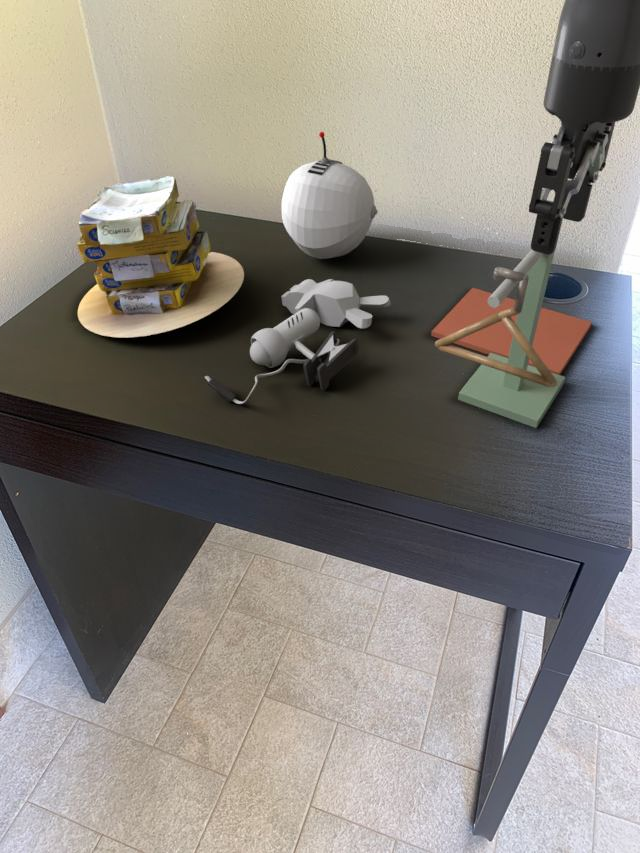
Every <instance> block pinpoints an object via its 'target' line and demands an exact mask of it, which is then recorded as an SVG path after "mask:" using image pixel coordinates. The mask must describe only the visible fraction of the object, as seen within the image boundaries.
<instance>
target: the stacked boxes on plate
mask: <svg viewBox="0 0 640 853" xmlns="http://www.w3.org/2000/svg"><path fill="white" fill-rule="evenodd" d="M178 188H179V187H178V185H177V178H175V176H171V175H170V176H169V175H167V176H165V177H161V178H153V177H150V178H149V179H142V180H141V179H140V180H134V181H127V179H126V178H125V179H124V182H122V183H121V181H119V182H118V183H116V184H113V185H107V186H103V188H102V190H100V191H99V193H98V194H97V195H96V198H95V199H93V201H92V202H91V203H90V205H89V206H88V208H85V209H84V210H82V211H81V212H80V213H81V214H80V215H79V222H78V227H79V230H80V236H79V238H78V241H77V243H76V247H77V249H78V252H79V254H80V257H81V259H82V261H83V263H95V264H96V265H97V270H96V271H95V272H94V273H93V277H94V279H95V282H96V284H95V285H94V286H93V287H92V288H90V289H89V290H88V291H87V293H86V294H85V295H84V296H83V297H82V299H81V301H80V302H79V305H78V309H77V318H78V321H79V323H80V324H81V325H82V326H83V327H84V328H85V329H87V331H89V332H92V333H94V334H97V335H100V336H104V337H111V338H121V339H122V338H127V339H128V338H139V337H147V336H151V335H158V334H161V333H167V332H170V331H173V330H176V329H179V328H183V327H185V326H187V325H190V324H192V323H195V322H197V321H199V320H201V319H204V318H205V317H207V316H210V315H211V314H212V313H214V312H216V311H218V310H219V309H220V308H221V307H223V306H224V305H225V304H227V303H228V302H230V300H232V298H233V297H234V296H235V295H236V294H237V293H238V292H239V290H240V288H241V287H242V284H243V282H244V279H245V272H244V267H243V266H242V265H241V263H240V262H239V261H237V259H235V258H233V257H231V256H230V255H227V254H223V253H220V252H215V251H212V250H211V243H210V239H209V234H208V228H205V229H204V230H203V231H202V230H201V231H198V230H199V228H200V225H199V221H198V217H197V212H196V207H197V203H195V202H194V201H193V200H192V199H190V200H188V199H186V200H182V201H178V198H179V197H180V194H179V189H178Z"/></svg>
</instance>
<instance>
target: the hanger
mask: <svg viewBox="0 0 640 853" xmlns="http://www.w3.org/2000/svg"><path fill="white" fill-rule="evenodd" d="M513 270H514V269H513ZM513 270H512V269H509V268H505V267H502V266H496V267H495V268H494V270H493V275H492V278H493V280H494V281H497V282H498V281H500V280H502V277H503V278H505V279H506V278H509V279H513V280H516V281H519V283H518V287H517V290H516V295H515V299H514V300H515V304H514V307H513V308H510V309H507V310H504V311H500V312H498V313H496V314H494V315H491V316H489V317H487V318H485V319H483V320H481V321H478V322H476V323H474V324H472V325H470V326H467V327H465V328H463V329H461V330H459V331H457V332H454V333H452V334H450V335H448V336H446V337H444V338H441V339H439V338H438V339H437V340H436V341H435V342H434V347H435V348H437V349H438V350H439V351H441V352H445V353H447V354H451V355H453V356H456V357H459V358H462V359H465V360H468V361H470V362H474V363H477V364H479V365H481V364H482V365H485V366H488V367H491V368H494V369H497V370H500V371H503V372H506V373H509V374H512V375H514V376H517V377H520V378H523V379H526V380H529V381H532V382H535V383H538V384H541V385H544V386H547V387H554V386H556V385H557V380H556V379H555V377H554V376H553V375H552V373H551V372H550V370H549V369H548V368H547V366H546V365H545V364H544V362H543V361H542V359H541V358H540V357H539V355H538V354H537V353H536V351H535V350H534V349H533V347H532V346H531V344H530V343H529V342H528V340H527V339H526V338H525V336H524V335H523V333H522V332H521V331H520V329H519V328H518V327H517V325H516V324H515V322H514V321H513V320H512V318H511V316H514V315H517V314H520V313H521V312H522V307H523V303H524V298H525V294H526V289H527V285H528V280H529V276H528V275H527V274H524V273H520V272H517V271H513ZM500 321H502V322H503V323H504V325H505V326H506V327H507V329H508V330H509V332H510V333H511V334H512V336H513V337H514V338H515V340H516V341H517V342H518V344H519V345H520V347H521V348H522V349H523V351H524V352H525V353H526V355H527V356H528V357H529V359H530V360H531V362H532V363H533V364H534V366H535V367H536V368H537V370H538V371H539V373H540V374H541V375H539V374H536V373H533V372H530V371H527V370H524V369H521V368H518V367H515V366H512V365H509V364H506V363H503V362H500V361H497V360H494V359H491V358H488V356H485V355H482V354H479V353H476V352H473V351H470V350H467V349H465V348H462V347H458V346H455V345H452V344H454V343H453V342H455V341H457V340H459V339H462V338H464V337H466V336H468V335H471V334H473V333H475V332H477V331H480V330H482V329H484V328H486V327H489V326H491V325H493V324H495V323H498V322H500Z"/></svg>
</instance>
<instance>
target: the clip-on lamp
mask: <svg viewBox="0 0 640 853" xmlns="http://www.w3.org/2000/svg"><path fill="white" fill-rule="evenodd" d="M320 327H321V322H320V318H319V316H318V314H317V313H316V312H315V311H314V310H312V309H309V308H304V309H301V310H300V311H298V312H297V313H295V314H292V315H291V316H289V317H287V319H285V320H283V321H281V322H280V323H278V324H277V325H276V326H274V327H273V328H271V327H266V328H262V329H260V330H258V331H256V332H255V333H254V334H253V335H252V336H251V338H250V347H249V356H250V358H251V360H252V361H253V362H254V363H255V364H257V365H259V366H266V367H267V368H270V369H272V368H276V367H278V366H280V365H281V364H282V363H283V364H282V365H281V367H280V368H278V369H276V370H275V371H272V372H266V373H259V374H256V375H255V377H254V382H255V383H254V385H253V386H252V389H251V390H250V392H249V393H248V396H247V397H246V399H245V400H243V401H241V400H238V399H237V398H236V397H237V395H236V394H235V393H233V392H232V390H230V389H228V388H227V387H226V386H225V385H224V384H222V383H221V381H219V380H218V379H216V377H210V376H209V375H205V376H204V379H205V380H206V381H207V385H208V386H209V387H210V388H211V389H212V390H214V391H215V392H216V393H217V394H218V395H220V396H221V397H222V398H224V399H225V400H226V401H227V402H228V403H232V402H233V403H235V404H237V405H244V404H245V403H246V402H248V401H249V399H250V398H251V396H252V394H253V393H254V391H255V390H256V387H257V385H258V382H259V379H260V378H265V377H266V378H267V377H272V376H275V375H278V374H280V373H282V372H283V371H284V370H285V369H286V367H287V365H288V364H291V363H292V364H303V365H302V366H303V372H304V376H305V381H306V385H307V386H308V387H312V386H313V384H314V383H315V381H316V377H315V376H317V378H318V382H319V388H320V390H321V391H325V390H327V389H328V387H329V386H330V381H331V379H332V378H333V377H335V376H336V374H338V372H339V371H341V370H342V368H344V367H345V366H346V365H347V364H348V363H349V362H350V361H351V360H352V359H353V358H354V357H355V356H356V355H357V354H358V351H359V341H358V339H356V338H352V339H351V340H349V341H348V342H347V343H345V344H340V339H339V338H338V336H337V332H335V331H330V333H329V334H328V336H327V337H326V338H325V339H324V341H323V342H322V344H321V345H320V346H319V348H318V349H317V351H316V352H313V351H312V350H311V349H309V348H308V347H307V346H305V344H303V342H304V341H305V340H307V339H308V338H310V336H311V337H312V335H313V334H315V333H316V332H317V331H318V330H319V329H320ZM294 348H295V349H296V350H297V351H299V352H300V353H301V354H302V355H303V356H305V357H306V359H296V358H288V359H287V357H288V354H289V351H291V350H293V349H294Z"/></svg>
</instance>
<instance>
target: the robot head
mask: <svg viewBox="0 0 640 853" xmlns="http://www.w3.org/2000/svg"><path fill="white" fill-rule="evenodd" d="M318 137H319V138H321V141H322V148H323V157H322V158H321V159H320V160H315V161H312V162H308V163H306V164H303V165H301V166H299V167H298V168H296V169H294V170H293V172H292V173H291V174H290V175H289V177H288V179H287V181H286V183H285V186H284V189H283V193H282V198H281V219H282V223H283V226H284V228H285V231H286V232H287V233H288V236H290V238H291V239H292V240H293V242H294V243H295V245H297V247H298V248H299V249H300V250H301V251H302V252H303V253H304V254H306V255H308V256H310V257H311V258H314V259H319V260H323V259H324V260H326V259H333V258H337V257H343V256H346V255H348V254H350V253H351V252H352V251H354V250H355V249H356V248H358V247H359V245H360V244H361V243H362V242H363V241H364V239H365V238H366V236H367V234H368V233H369V230H370V228H371V226H372V223H373V219H375V217H376V215H377V214H378V212H379V211H378V209H377V207H376V205H375V198H374V193H373V190H372V188H371V186H370V184H369V183H368V181H367V180H366V178H365V177H364V176H363V175H362V174H360V172H358V171H357V170H355V169H354V168H352V167H351V166H348V165H346V164H344V163H343V162H342V161H340V160H334V159H330V158H328V157H327V144H326V139H325V132H323V131H320V132H319V133H318Z"/></svg>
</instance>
